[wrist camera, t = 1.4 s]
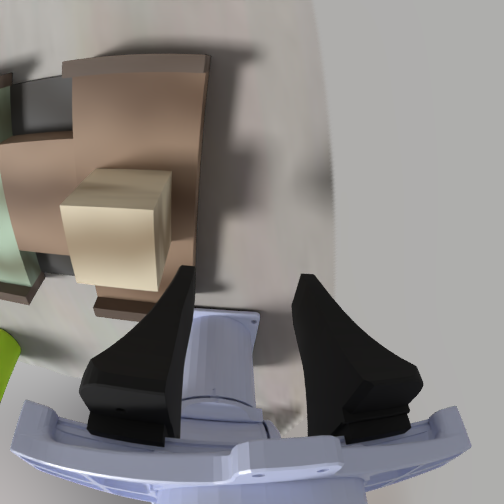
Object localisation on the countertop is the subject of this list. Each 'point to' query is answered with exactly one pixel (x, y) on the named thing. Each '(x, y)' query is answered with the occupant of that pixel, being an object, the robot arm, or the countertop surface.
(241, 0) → the countertop surface
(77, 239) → the maple block
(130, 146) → the track
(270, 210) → the countertop surface
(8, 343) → the soap dispenser
